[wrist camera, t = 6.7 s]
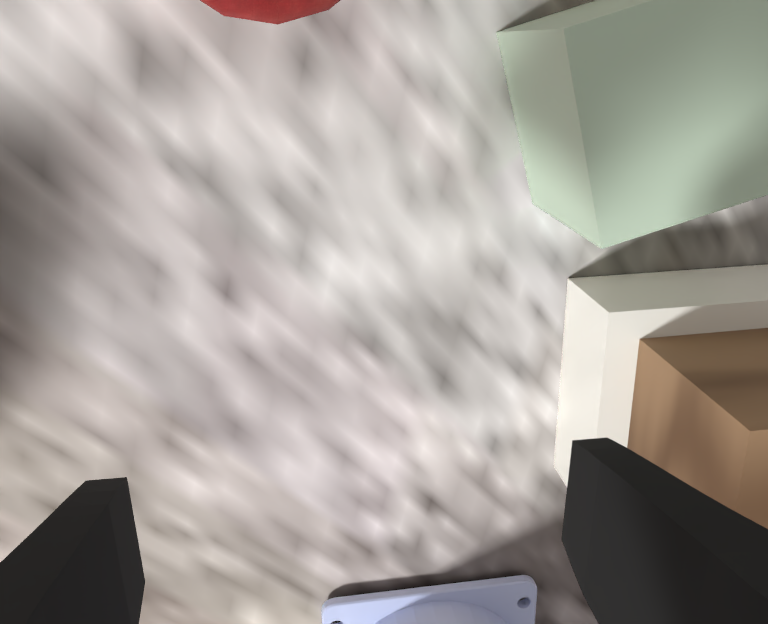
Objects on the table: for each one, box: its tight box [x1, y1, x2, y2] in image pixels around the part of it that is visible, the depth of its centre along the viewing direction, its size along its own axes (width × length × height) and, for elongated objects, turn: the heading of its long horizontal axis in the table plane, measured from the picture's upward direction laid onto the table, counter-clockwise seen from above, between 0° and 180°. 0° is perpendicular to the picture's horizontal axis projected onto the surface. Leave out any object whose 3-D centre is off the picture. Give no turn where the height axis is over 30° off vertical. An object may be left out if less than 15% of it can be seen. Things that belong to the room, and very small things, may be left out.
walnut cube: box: [627, 328, 768, 529], centre depth 18 cm, size 5×5×5 cm
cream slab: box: [554, 264, 768, 487], centre depth 22 cm, size 7×7×3 cm
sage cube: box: [496, 0, 768, 249], centre depth 18 cm, size 5×5×5 cm
